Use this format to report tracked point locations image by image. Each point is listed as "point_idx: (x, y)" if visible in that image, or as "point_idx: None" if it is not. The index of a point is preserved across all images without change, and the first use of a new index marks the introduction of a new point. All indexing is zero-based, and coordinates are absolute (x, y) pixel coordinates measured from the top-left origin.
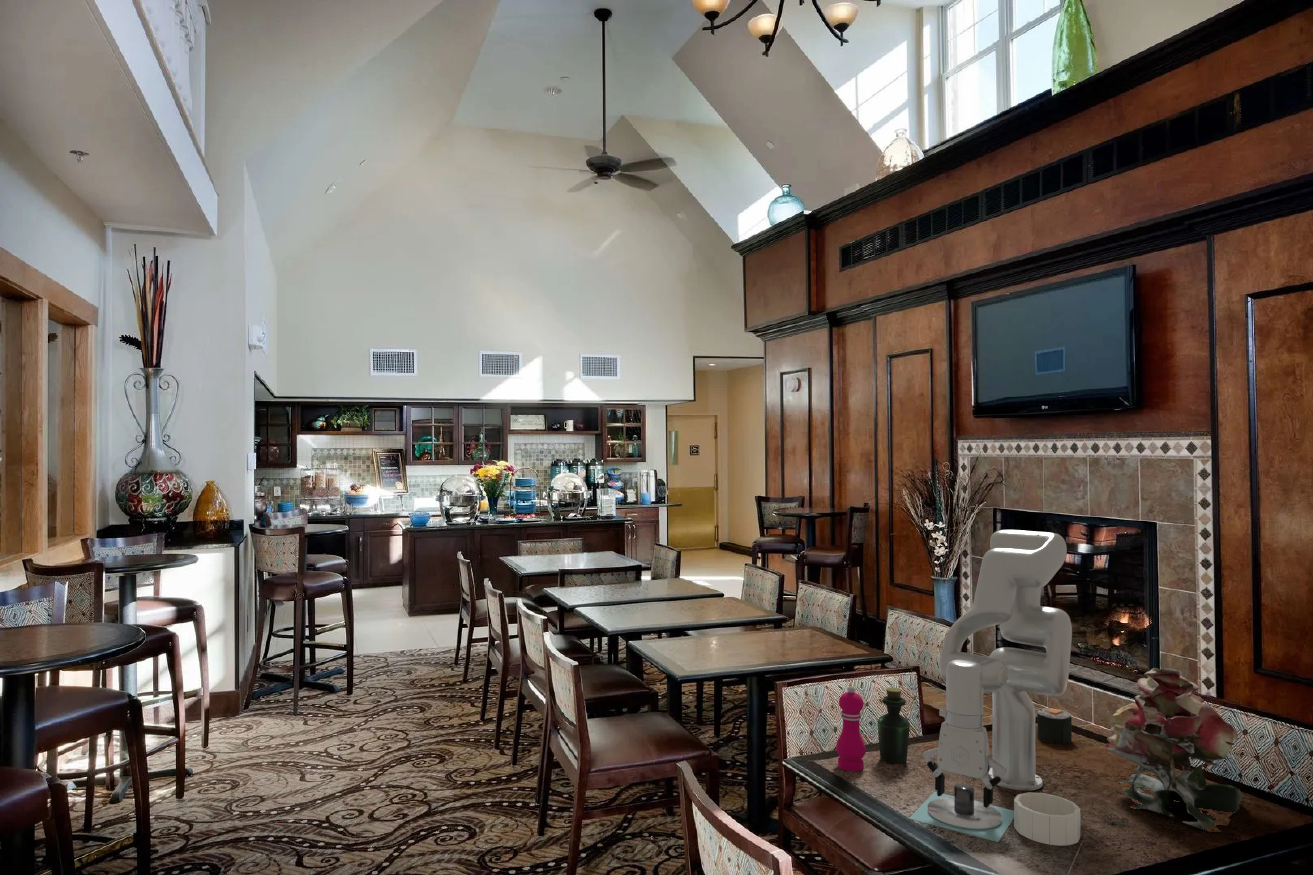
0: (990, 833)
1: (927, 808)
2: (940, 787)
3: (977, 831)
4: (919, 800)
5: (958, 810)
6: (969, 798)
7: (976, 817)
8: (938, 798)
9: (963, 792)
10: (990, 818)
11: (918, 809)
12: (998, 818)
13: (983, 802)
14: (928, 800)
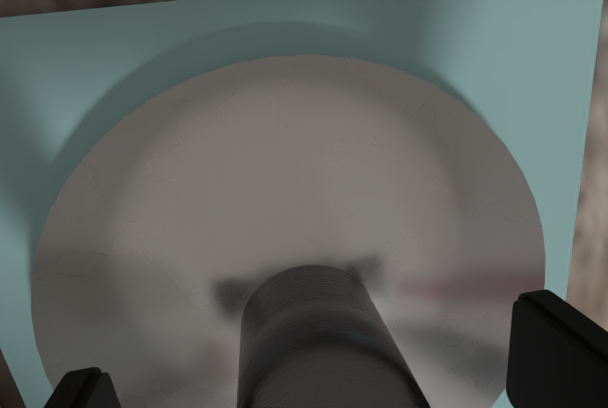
0: (11, 151)
1: None
2: (581, 352)
3: (103, 115)
4: None
5: (329, 276)
6: (252, 386)
7: (196, 292)
8: None
9: (313, 401)
10: (115, 347)
11: (574, 175)
12: None
13: (86, 398)
14: None
